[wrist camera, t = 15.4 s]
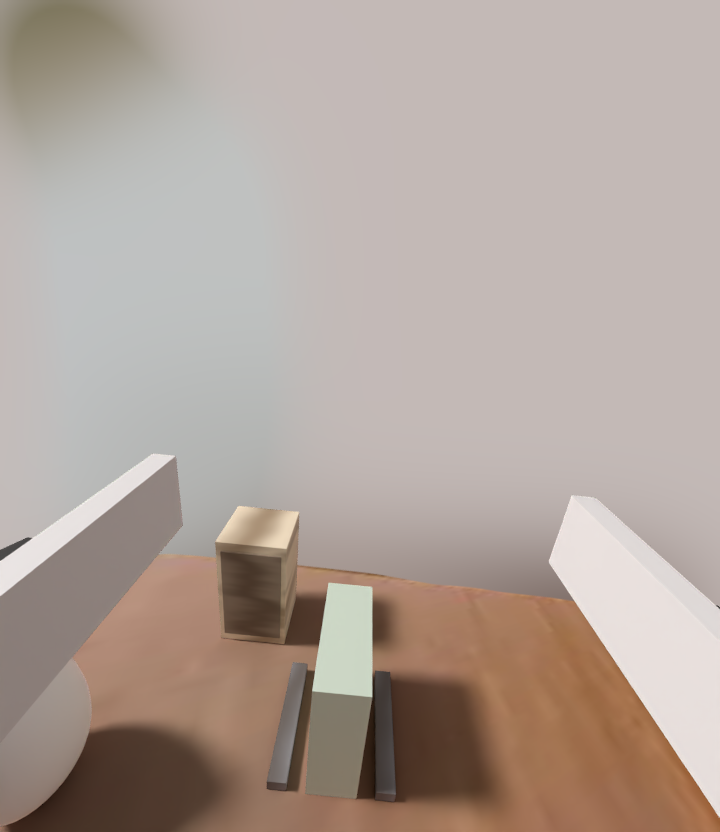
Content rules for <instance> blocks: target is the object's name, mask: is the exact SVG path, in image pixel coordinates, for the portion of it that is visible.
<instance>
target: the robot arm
mask: <svg viewBox="0 0 720 832" xmlns="http://www.w3.org/2000/svg"><path fill="white" fill-rule="evenodd" d="M177 473H178V472H177V463H176V456H172V455H162V454H152V455H150V456H149V457H147V458H146V459H145V460H143V461H142V462H140V463H139V464H137V465H136V466H135V467H133V468H132V469H130V470H129V471H127V472H126V473H125V474H123V475H122V476H120V477H119V478H118V479H116V480H115V481H113V482H112V483H110V484H109V485H108V486H106V487H105V488H103V489H102V490H101V491H99V492H98V493H96V494H95V495H94V496H92V497H91V498H89V499H88V500H86V501H85V502H84V503H82V504H81V505H79V506H78V507H76V508H75V509H74V510H72V511H71V512H69V513H68V514H66V515H65V516H64V517H62V518H61V519H59V520H58V521H57V522H55V523H54V524H52V525H51V526H49V527H48V528H47V529H45V530H44V531H42V532H41V533H39V534H38V535H37V536H35V537H34V538H25V539H23V540H21V541H19V542H17V543H14V544H12V545H10V546H8V547H6V548H4V549H1V550H0V743H1V742H2V740H3V739H4V738H5V737H6V736H7V734H8V733H9V732H10V731H11V730H12V728H13V727H14V726H15V725H16V724H17V723H18V721H19V720H20V719H21V718H22V717H23V715H24V714H25V713H26V712H27V711H28V709H29V708H30V707H31V706H32V705H33V703H34V702H35V701H36V700H37V699H38V697H39V696H40V695H41V694H42V693H43V691H44V690H45V689H46V688H47V687H48V686H49V684H50V683H51V682H52V681H53V680H54V678H55V677H56V676H57V675H58V674H59V672H60V671H61V670H62V669H63V668H64V666H65V665H66V664H67V663H68V662H69V660H70V659H71V658H72V657H73V656H74V654H75V653H76V652H77V651H78V650H79V649H80V647H81V646H82V645H83V644H84V643H85V641H86V640H87V639H88V638H89V637H90V635H91V634H92V633H93V632H94V631H95V629H96V628H97V627H98V626H99V625H100V623H101V622H102V621H103V620H104V619H105V617H106V616H107V615H108V614H109V613H110V612H111V610H112V609H113V608H114V607H115V606H116V604H117V603H118V602H119V601H120V600H121V598H122V597H123V596H124V595H125V594H126V592H127V591H128V590H129V589H130V588H131V586H132V585H133V584H134V583H135V582H136V580H137V579H138V578H139V577H140V576H141V575H142V573H143V572H144V571H145V570H146V569H147V567H148V566H149V565H150V564H151V563H152V561H153V560H154V559H155V558H156V557H157V555H158V554H159V553H160V551H162V549H163V548H164V547H165V546H166V545H167V543H168V542H169V541H170V540H171V539H172V537H173V536H174V535H175V534H176V533H177V531H178V530H179V529H180V528H181V527H182V526H183V523H182V513H181V503H180V493H179V483H178V474H177ZM549 563H550V565H551V566H552V568H553V569H554V571H555V572H556V573H557V575H558V577H559V578H560V580H561V581H562V582H563V584H564V586H565V587H566V589H567V590H568V592H569V593H570V595H571V596H572V598H573V599H574V601H575V602H576V604H577V605H578V607H579V608H580V610H581V611H582V613H583V614H584V616H585V617H586V619H587V620H588V622H589V623H590V625H591V626H592V628H593V629H594V631H595V632H596V634H597V635H598V637H599V638H600V640H601V641H602V643H603V644H604V646H605V647H606V649H607V650H608V651H609V653H610V654H611V656H612V657H613V659H614V660H615V662H616V663H617V665H618V666H619V668H620V669H621V671H622V672H623V674H624V675H625V677H626V678H627V680H628V681H629V683H630V684H631V686H632V687H633V689H634V690H635V692H636V693H637V695H638V696H639V698H640V699H641V701H642V702H643V704H644V705H645V707H646V708H647V710H648V711H649V713H650V714H651V716H652V717H653V719H654V720H655V722H656V723H657V725H658V726H659V728H660V729H661V731H662V732H663V734H664V735H665V737H666V738H667V740H668V741H669V743H670V744H671V746H672V747H673V749H674V750H675V752H676V753H677V755H678V756H679V758H680V759H681V761H682V762H683V764H684V765H685V767H686V768H687V770H688V771H689V773H690V774H691V776H692V777H693V778H694V780H695V781H696V783H697V784H698V786H699V787H700V789H701V790H702V792H703V793H704V795H705V796H706V798H707V799H708V801H709V802H710V804H711V805H712V807H713V808H714V810H715V811H716V813H717V814H718V816H719V817H720V607H719V606H717V605H714V604H713V603H712V602H711V601H710V600H709V599H708V598H707V597H706V596H704V595H703V594H702V593H701V592H700V591H699V590H698V589H696V587H694V586H693V585H692V584H691V583H690V582H689V581H688V580H686V579H685V578H684V577H683V576H682V575H681V574H680V573H679V572H678V571H677V570H675V569H674V568H673V567H672V566H671V565H670V564H668V562H666V561H665V560H664V559H663V558H662V557H661V556H660V555H659V554H657V553H656V552H655V551H654V550H653V549H652V548H651V547H650V546H648V545H647V544H646V543H645V542H644V541H643V540H642V539H641V538H640V537H638V536H637V535H636V534H635V533H634V532H633V531H631V529H629V528H628V527H627V526H626V525H625V524H624V523H623V522H622V521H621V520H619V519H618V518H617V517H616V516H615V515H614V514H613V513H611V512H610V511H609V510H608V509H607V508H606V507H605V506H604V505H603V504H602V503H600V502H599V501H598V500H597V499H596V498H593V497H583V496H573V495H572V497H571V500H570V502H569V505H568V508H567V511H566V514H565V516H564V519H563V522H562V525H561V528H560V531H559V534H558V537H557V539H556V542H555V545H554V548H553V551H552V554H551V557H550V560H549Z"/></svg>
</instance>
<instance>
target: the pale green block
mask: <svg viewBox="0 0 720 832" xmlns="http://www.w3.org/2000/svg"><path fill="white" fill-rule="evenodd" d="M371 702H372V587H367V586H357V585H346V584H336V583H329V584H328V591H327V597H326V604H325V610H324V617H323V623H322V630H321V636H320V643H319V650H318V656H317V663H316V669H315V676H314V682H313V689H312V701H311V716H310V731H309V746H308V761H307V776H306V791H305V794H311V795H321V796H331V797H341V798H351V799H356V798H357V791H358V785H359V779H360V772H361V766H362V760H363V753H364V747H365V740H366V734H367V728H368V721H369V715H370V709H371Z"/></svg>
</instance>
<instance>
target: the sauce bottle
mask: <svg viewBox="0 0 720 832" xmlns="http://www.w3.org/2000/svg"><path fill="white" fill-rule="evenodd" d="M91 714H92V705H91V698H90V693H89V688H88V684H87V682H86V679H85V677H84V675H83V673H82V671H81V670H80V668H79V666H78V665H77V663H76V662H75V660H74V659H73V658H71V659H70V660H69V662H68V663H67V664H66V665H65V666H64V668H63V669H62V670H61V671H60V672H59V674H58V675H57V676H56V677H55V678H54V680H53V681H52V682H51V683H50V684H49V686H48V687H47V688H46V689H45V690H44V691H43V693H42V694H41V695H40V696H39V697H38V699H37V700H36V701H35V702H34V703H33V705H32V706H31V707H30V708H29V709H28V711H27V712H26V713H25V714H24V715H23V717H22V718H21V719H20V720H19V721H18V723H17V724H16V725H15V726H14V727H13V728H12V730H11V731H10V732H9V733H8V734H7V736H6V737H5V738H4V739H3V740H2V742H1V743H0V827H1V826H5V825H8V824H11V823H14V822H16V821H18V820H20V819H22V818H23V817H25V816H27V815H28V814H30V813H31V812H33V811H34V810H36V809H37V808H38V807H39V806H40V805H42V804H43V803H44V802H45V801H46V800H47V799H48V798H49V797H50V796H51V795H52V794H53V793H54V792H55V791H56V790H57V789H58V788H59V787H60V785H61V784H62V783H63V782H64V781H65V779H66V778H67V776H68V775H69V773H70V772H71V771H72V769H73V767H74V766H75V764H76V762H77V760H78V758H79V756H80V755H81V753H82V751H83V748H84V745H85V743H86V740H87V737H88V734H89V730H90V723H91Z"/></svg>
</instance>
